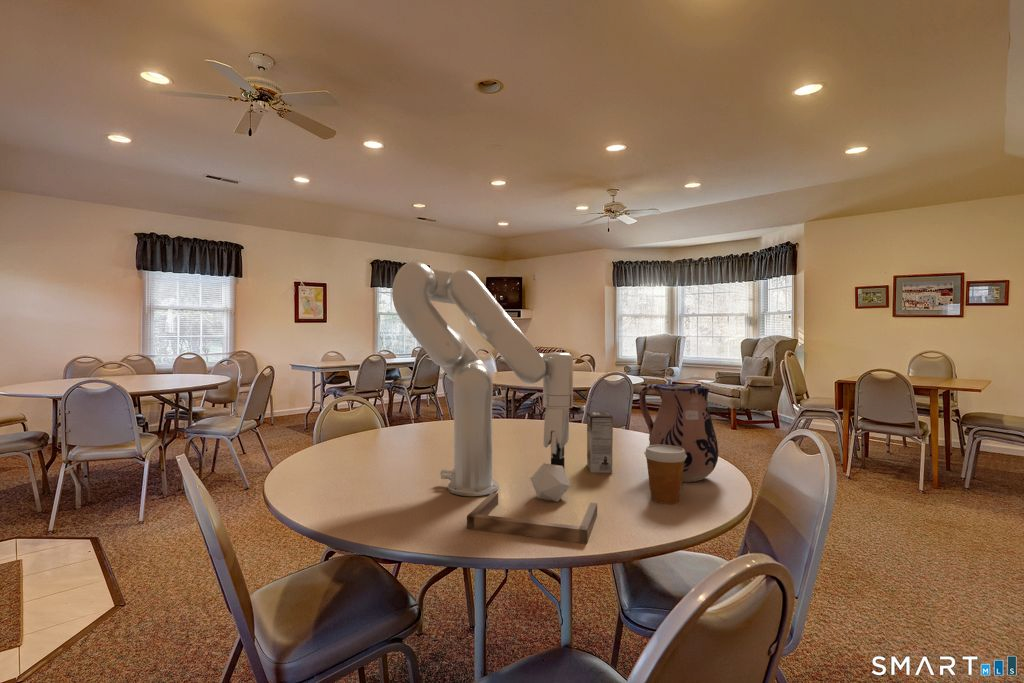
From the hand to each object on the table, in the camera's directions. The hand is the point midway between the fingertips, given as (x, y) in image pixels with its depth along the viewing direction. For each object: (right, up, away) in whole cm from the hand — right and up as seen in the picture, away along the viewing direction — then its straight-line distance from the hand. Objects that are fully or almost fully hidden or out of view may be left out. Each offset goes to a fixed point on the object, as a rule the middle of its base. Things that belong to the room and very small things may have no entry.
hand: (557, 473), depth 123 cm
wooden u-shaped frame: (-7, -4, -23) cm, 24 cm away
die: (-2, -4, -8) cm, 10 cm away
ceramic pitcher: (+33, -4, +9) cm, 35 cm away
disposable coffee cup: (+24, -4, -9) cm, 26 cm away
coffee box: (+14, -4, +17) cm, 22 cm away
